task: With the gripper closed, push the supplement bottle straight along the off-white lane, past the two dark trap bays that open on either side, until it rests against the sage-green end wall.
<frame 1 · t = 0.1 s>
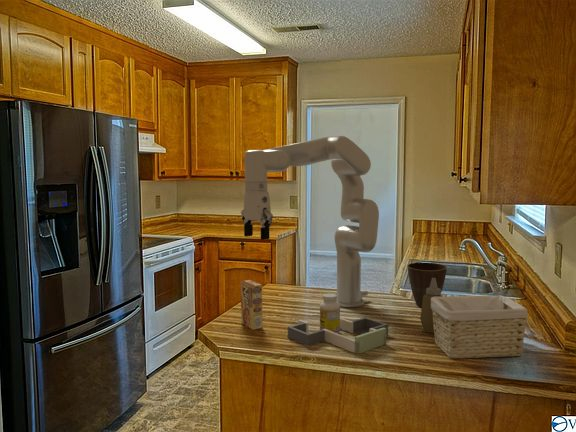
hand: (256, 237, 166), 31 cm above the counter, tool pointing down, fingers open, 9 cm apart
supplement bottle: (329, 333, 163), resting in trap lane
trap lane: (340, 336, 159), on the counter
squeeze bottle: (432, 331, 164), on the counter
storage basket: (475, 350, 148), on the counter
candy box: (251, 326, 170), on the counter
plant pot: (425, 306, 194), on the counter
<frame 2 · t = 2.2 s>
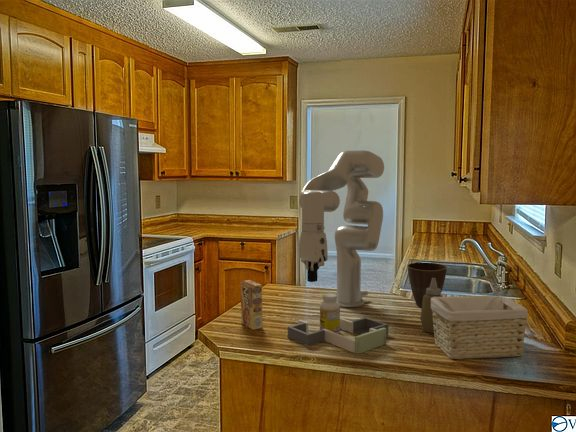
hand: (312, 281, 168), 16 cm above the counter, tool pointing down, fingers closed
nothing on the counter moved.
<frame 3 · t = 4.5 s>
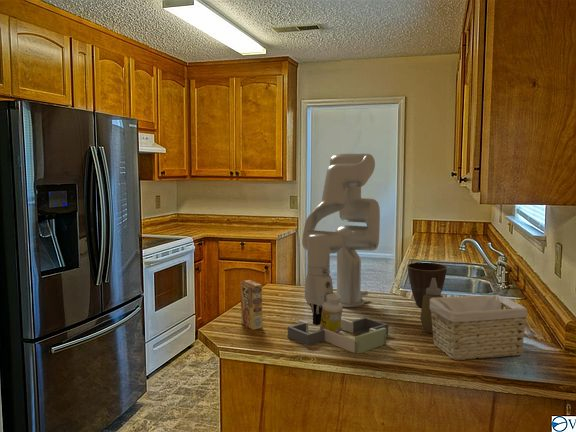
hand: (317, 324, 166), 2 cm above the counter, tool pointing down, fingers closed
supplement bottle: (329, 332, 162), resting in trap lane, touching gripper
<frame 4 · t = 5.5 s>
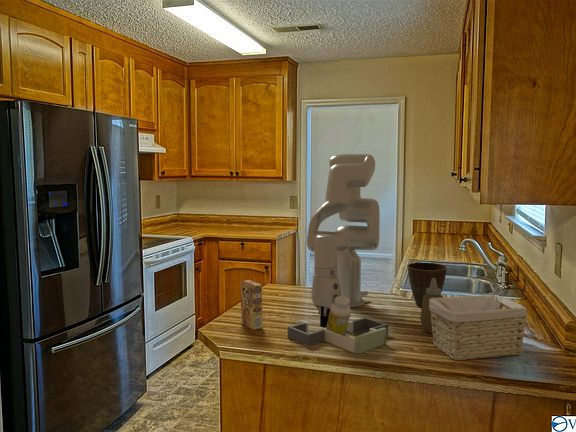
hand: (325, 326, 163), 2 cm above the counter, tool pointing down, fingers closed
supplement bottle: (335, 333, 160), point 1 cm above the counter, touching gripper
everything else where it was.
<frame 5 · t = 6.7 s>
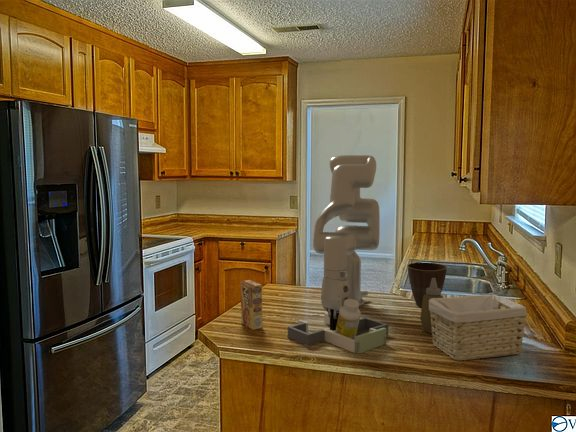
hand: (335, 329, 159), 2 cm above the counter, tool pointing down, fingers closed
supplement bottle: (345, 336, 157), point 1 cm above the counter, touching gripper
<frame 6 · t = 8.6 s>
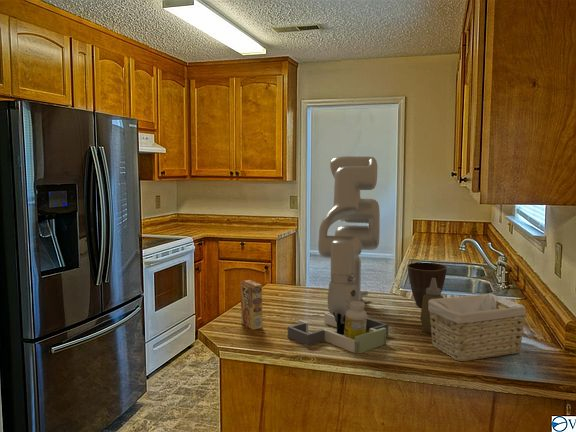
hand: (341, 334, 158), 1 cm above the counter, tool pointing down, fingers closed
supplement bottle: (354, 342, 153), resting in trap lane, touching gripper
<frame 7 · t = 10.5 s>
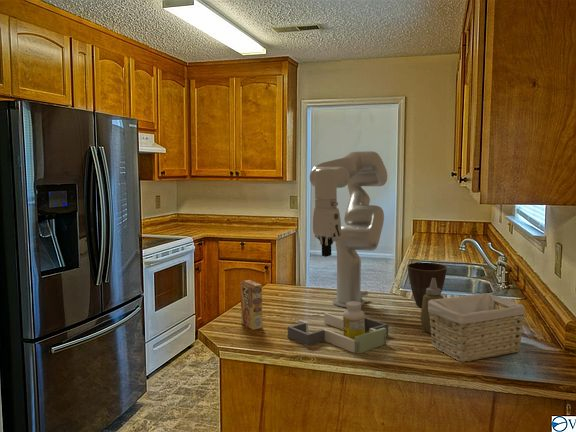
hand: (326, 255, 173), 24 cm above the counter, tool pointing down, fingers closed
supplement bottle: (354, 343, 153), resting in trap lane
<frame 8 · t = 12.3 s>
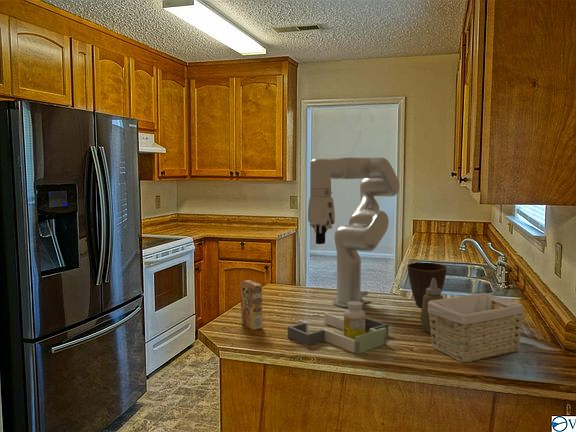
hand: (320, 243, 178), 27 cm above the counter, tool pointing down, fingers closed
at the end: supplement bottle inside the target area (2.1 cm from its centre), resting in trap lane; supplement bottle tilted 1°; supplement bottle moved 11.8 cm from its start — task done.
